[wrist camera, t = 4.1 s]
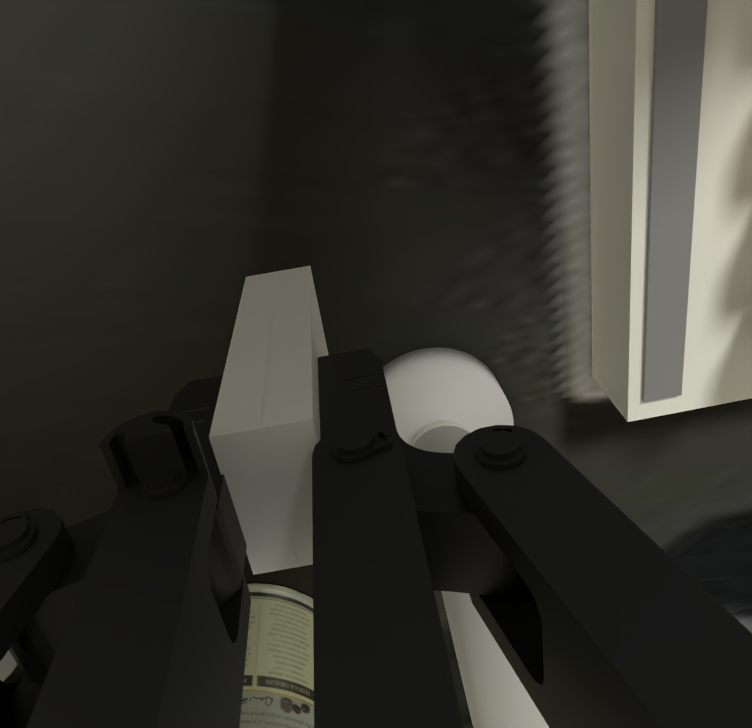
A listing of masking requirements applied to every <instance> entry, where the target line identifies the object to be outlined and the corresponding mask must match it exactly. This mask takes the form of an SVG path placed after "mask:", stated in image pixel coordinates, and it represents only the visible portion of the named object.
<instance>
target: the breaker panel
mask: <svg viewBox="0 0 752 728" xmlns="http://www.w3.org/2000/svg"><path fill="white" fill-rule="evenodd" d="M589 102H590V209H591V317H592V378H593V379H594V380H595V382H596V383H597V384H598V385H599V387H600V388H601V389H602V390H603V392H604V393H605V394H606V395H607V397H608V398H609V399H610V400H611V402H612V403H613V404H614V405H615V407H616V408H617V409H618V411H619V412H620V413H621V414H622V416H623V417H624V418H625V419H626V421H627V422H631V421H636V420H641V419H646V418H652V417H657V416H662V415H667V414H672V413H678V412H683V411H688V410H693V409H698V408H704V407H709V406H714V405H719V404H725V403H730V402H735V401H740V400H745V399H751V398H752V0H589Z"/></svg>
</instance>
